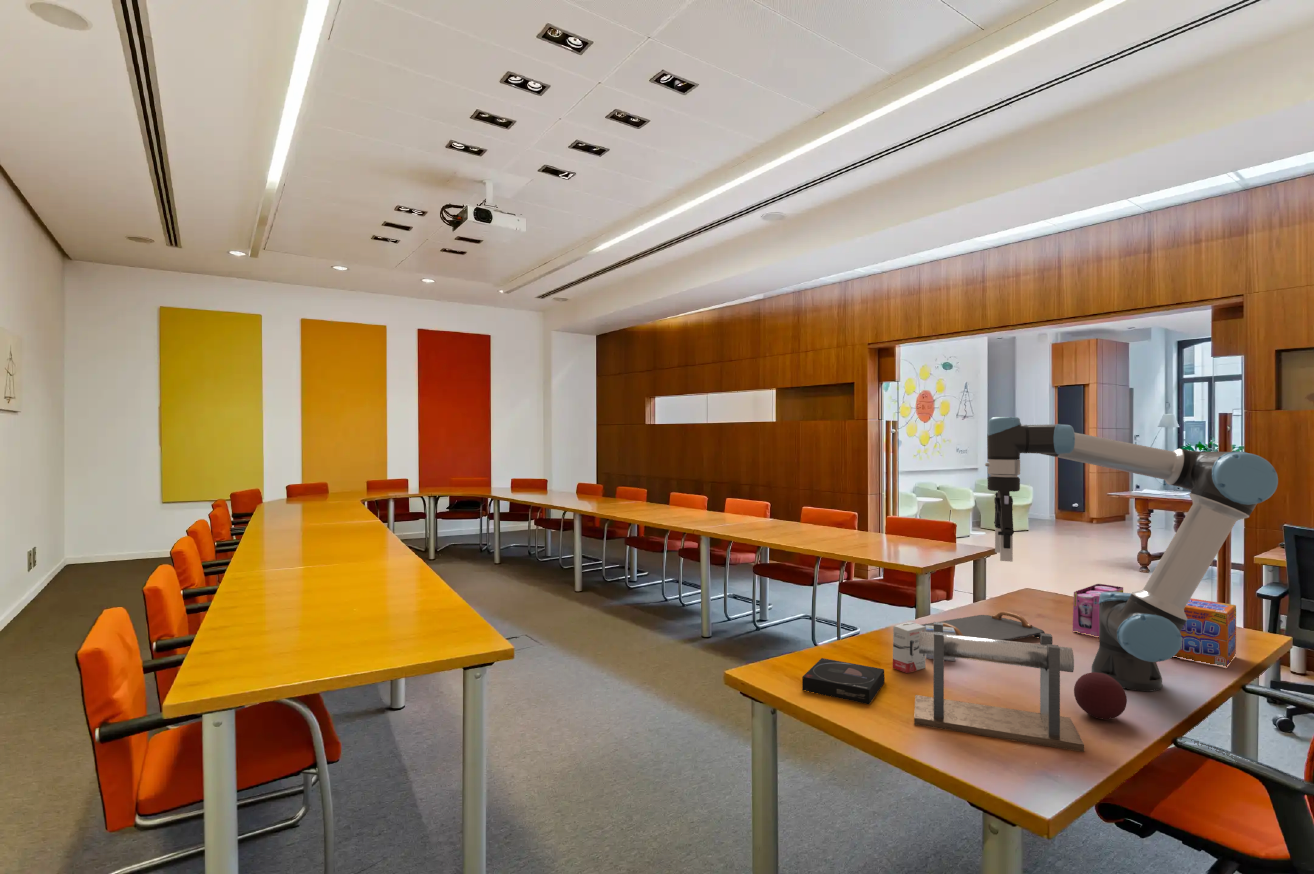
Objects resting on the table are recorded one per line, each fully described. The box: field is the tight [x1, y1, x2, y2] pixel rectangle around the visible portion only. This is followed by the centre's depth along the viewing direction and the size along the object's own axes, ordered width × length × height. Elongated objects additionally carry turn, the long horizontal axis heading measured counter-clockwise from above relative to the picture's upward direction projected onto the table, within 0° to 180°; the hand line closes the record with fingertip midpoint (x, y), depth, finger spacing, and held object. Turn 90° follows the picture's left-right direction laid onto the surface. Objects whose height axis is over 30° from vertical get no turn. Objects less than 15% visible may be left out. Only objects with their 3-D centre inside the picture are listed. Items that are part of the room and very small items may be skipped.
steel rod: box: [919, 631, 1075, 673], centre depth 143 cm, size 30×5×5 cm
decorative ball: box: [1073, 672, 1128, 720], centre depth 147 cm, size 10×10×10 cm
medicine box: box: [925, 625, 956, 662], centre depth 188 cm, size 8×4×9 cm, turn 71°
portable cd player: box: [801, 657, 885, 705], centre depth 165 cm, size 16×17×4 cm
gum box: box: [1072, 583, 1124, 636], centre depth 217 cm, size 24×8×14 cm, turn 127°
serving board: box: [921, 611, 1046, 641], centre depth 209 cm, size 39×23×6 cm, turn 116°
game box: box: [1175, 597, 1237, 667], centre depth 190 cm, size 16×16×16 cm
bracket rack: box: [913, 621, 1085, 753], centre depth 143 cm, size 32×14×20 cm, turn 67°
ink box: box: [892, 621, 926, 674], centre depth 179 cm, size 8×5×12 cm, turn 123°
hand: (1003, 556), depth 169 cm, fingers open, 13 cm apart
